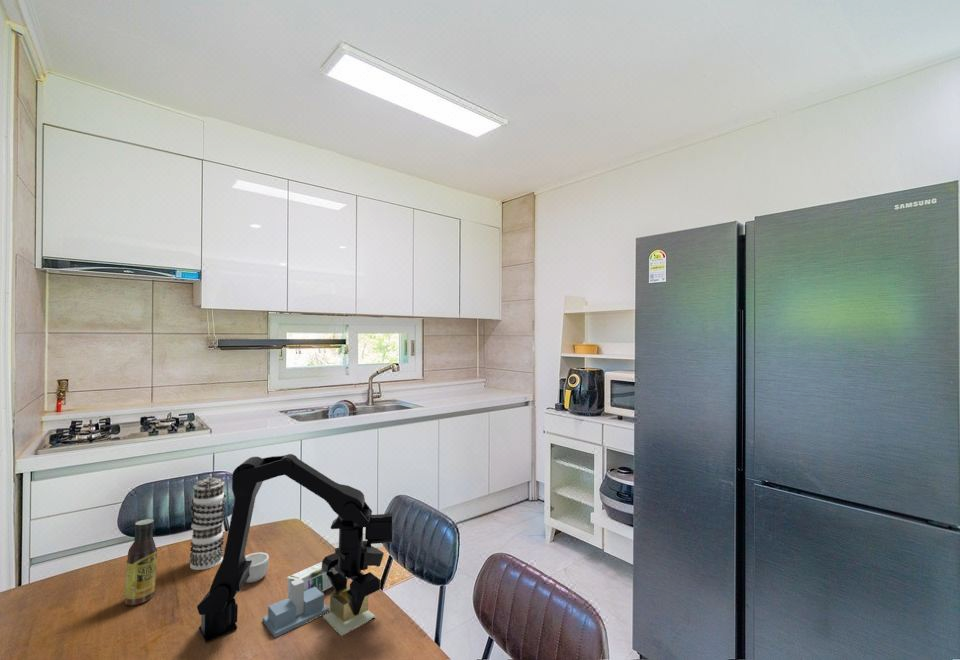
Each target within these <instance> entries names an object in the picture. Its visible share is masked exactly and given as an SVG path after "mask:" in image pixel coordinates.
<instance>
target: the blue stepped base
mask: <svg viewBox="0 0 960 660" xmlns="http://www.w3.org/2000/svg"><path fill="white" fill-rule="evenodd" d="M267 609H268V610H267V615H264V616H262V622H263V623H264V625H265V627H267V629H268V631H270V633H271V634H272V635H273V637H274V638H278V637H280V636H282V635H284V634H286V633H288V632H290V631H289V630H291V631H293V630H294V629H293V628H295V629H296V627H297V626H299V627H301V626H303V625H305V624H307V623H306V622H308V623H309V621H310V620H312V619H314V620H315V618H316V617H318V616H320V615H322V616H323V614H325V613H327V612H330V607H329V606H328V605H326V604H325V593H324V591H323V592H320V591H319V590H318V589H317V588H316V587H313V588H311V589H308V590H306V591H304V581H303V580H302V579H301V578H299V579H296V580H294V581H291V582H290V600H289V599H288V597H287V598H284V599H281V600H280V601H277V602H275V603H271V604H270V605H268V607H267ZM320 617H321V616H320ZM318 618H319V617H318ZM316 619H317V618H316ZM312 621H313V620H312ZM310 622H311V621H310ZM304 623H305V624H304ZM302 624H303V625H302ZM300 625H301V626H300ZM297 628H298V627H297ZM292 629H293V630H292ZM287 631H288V632H287ZM283 633H284V634H283Z"/></svg>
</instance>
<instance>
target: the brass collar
mask: <svg viewBox="0 0 960 660" xmlns="http://www.w3.org/2000/svg"><path fill="white" fill-rule="evenodd" d="M349 590H350V585H347V587H346V588H343V589H341V590H339V591H337V592H335V591H334V592H332V593H330V595H329V597H330V599H329V612H332V613H333V614H334V615H335V616H337V617H338V618H339V619H340V620H341V621H342V622H346V621H348V620H350V619H352V618H354V617H356V616H358V615H360V614H361V613H363V612H365V611H367V610H369V595H367V596H365V598H364V600H363V603H362V606H361V609H360V611H359V614H357V615H354V614H353V611H352V608H351V604H350V601H349V598H348V594H347V591H349Z"/></svg>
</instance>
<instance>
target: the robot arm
mask: <svg viewBox="0 0 960 660" xmlns="http://www.w3.org/2000/svg"><path fill="white" fill-rule="evenodd" d="M231 476H232V478H231V481H232V482H231V490H232V493H233V494H232V495H233V498H234V503H233V507H232V511H231V512H232V513H231V517H230V522H229V527H228V533H227V536H226V543H225V548H224V551H223V556H222V557H223V560H222V562H221V563H220V565H219V567H218V569H217V571H216V573H215V575H214V577H213V580H212V582H211V585H210V588H209V591H207V593H206V594H205V596H204V597H203V598H202V599H201V600H200V602H199V604H197V606H196V609H197V613H198V614H199V615H200V616H201V618H200V619H201V621H200V623H201V624H200V626H199V627H198V631H199V633H200V635H201V637H202V638H203V641H204V642H205V643H208V642H211V641H213V640H215V639H217V638H221V637H222V636H225V635H228V634H230V633H233V632H234V631H236V630H237V629H238V625H237V622H238V611H239V609H238V606H239V605H238V604H237V602H236V598H235V597H236V595H237V594H238V592H240V591H241V590H242V588H243V586H244V585H245V583H247V582H246V581H247V579H248V578H249V576H250V574H249V569H250V566H251V563H252V561H246V559H245V556H246V555H245V553H246V547H247V542H248V539H249V532H250V528H251V522H252V517H253V512H254V508H255V503H256V497H257V495H258V493H259V490H260V488H261V487H262V485H263V483H264V482H265V481H268V480H271V479H274V478H277V477H280V476H286V477H288V478H289V479H291V480H292V481H294V482H295V483H297V484H299V485H300V486H302V487H303V488H305V489H307V490H308V491H310V492H311V493H313V494H315V496H318V497H320V498H321V499H322V500H324V501H325V502H326V503H327V504H328V505H329V507H330V508H331V510H332V511H333V512H334V513H335V514H336V515H337V517H336V518H335V519H334V520H332V523H331V525H330V529H331V530H338V547H336V548H335V550H334V553H331V554H329V555H326V556H324V558H323V559H322V561H321V562H322V569H323V570H324V571H325V572H326V575H327V576H328V578H329V580H330V582H331V584H332V588H333V591H334V592H337V591H339V590H341V589H343V588H346V587H348V580H349V579H351V582H350V584H349V586H350V590H349V591H347V594H348V598H349V601H350V604H351V608H352V611H353V614H354V615H357V614H359V611H360V609H361V606H362V603H363V600H364V598H365V596H367V595H368V596H369V595H371V594H374V593H376V592H378V591H380V590H381V584H382V582H381V579H380V578H378V577H377V575H374V574H373V573H372V572H367V573H362V572H361V571H365V570H368V567H371V566H372V567H374V566H375V567H378V568H380V567H381V564H382V561H383V558H384V554H385V553H384V552H383V551H382V550H381V549H379V548H377V547H374V546H372V544H390V543H393V542H394V541H393V540H394V520H393V519H394V518H393V515H394V514H393V512H388V513H387V512H386V513H383V514H382V513H381V514H373V510H372V509H371V508H370V506H369V505H368V504H367V502H366V501H365V495H364V492H362V491H361V490H359V489H357V488H355V487H352V486H350V485H346V484H340V483H338V482H335V481H334V480H333V479H331V478H329V477H327V476H326V475H325V474H324V473H321V472H320V471H318V470H317V469H315V468H314V467H312V466H310V465H309V464H308V463H306V462H304V460H303V461H302V459H299V458H298V457H297V456H296V455H295V454H293V453H288V454H284V455H275V456H269V457H264V458H263V457H261V456H260V457H259V456H251V457H249V458H248V459H245V460H244V461H243V462H242V463H241V464H239V465H238V466H237V467H236V468H235V469H234V470H233V472H232V475H231ZM364 528H365V530H364ZM364 531H365V533H364ZM364 534H365V536H364ZM363 539H364V540H363Z"/></svg>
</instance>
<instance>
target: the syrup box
mask: <svg viewBox="0 0 960 660" xmlns="http://www.w3.org/2000/svg"><path fill="white" fill-rule="evenodd" d="M299 578H301V579H302V580H303V581H304V591H306V590H308V589H311V588H313V587H316V588H317V589H318V590H319V591H320V592H323V593H324V591H326V590H329V589H330V588H333V586H332V584H331V582H330V580H329V578H328V576H327V575H326V572H325V571H324V570H323V569H322V561H321V562H318V563H316V564H314V565H311V566H310V567H307V568H304V569H302V570H300V571H298V572H296V573H294V574H291V575H289V576H287V577H286V580H287V593H288V594H287V596H288V597H287V598H288V599H289V600H290V582H291V581H294V580H296V579H299Z"/></svg>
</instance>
